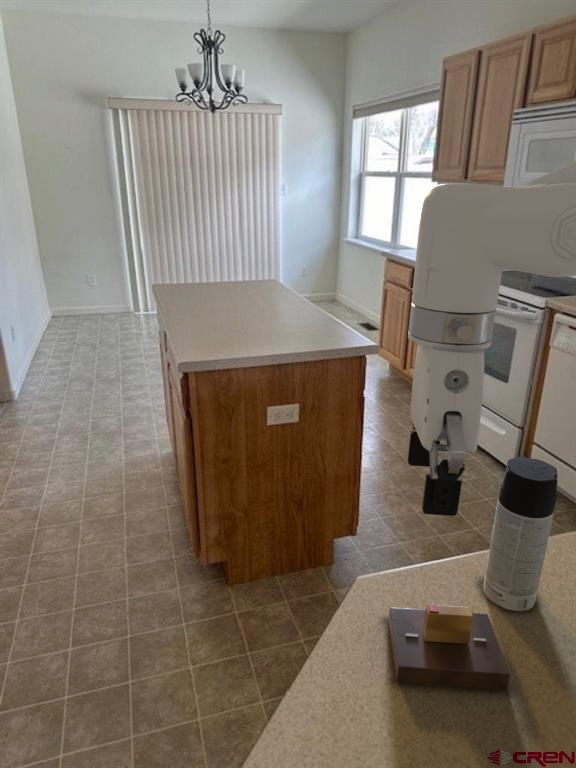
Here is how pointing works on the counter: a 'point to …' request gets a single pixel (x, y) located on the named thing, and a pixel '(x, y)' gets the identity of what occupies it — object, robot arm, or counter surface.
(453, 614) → the block
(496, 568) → the spray can
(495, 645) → the plate
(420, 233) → the robot arm
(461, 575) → the counter surface
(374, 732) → the counter surface
